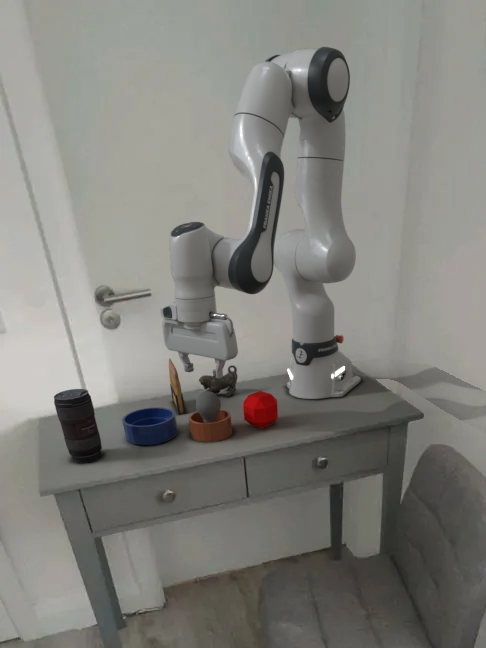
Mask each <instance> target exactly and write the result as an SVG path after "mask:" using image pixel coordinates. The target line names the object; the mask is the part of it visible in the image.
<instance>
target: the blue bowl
mask: <svg viewBox="0 0 486 648" xmlns="http://www.w3.org/2000/svg"><path fill="white" fill-rule="evenodd" d="M121 422H122V426H123V431H124V437H125V439H126V441H127V442H129V443H130V444H134V445H139V446H151V445H152V446H153V445H158V444H162V443H165V442H167V441H170V440H172V439H173V438H175V437H176V436H177V435H178V433H179V430H178V424H177V417H176V413H175V411H174V410H173V409H171V408H167V407H160V406H159V407H158V406H157V407H154V406H153V407H145V408H139V409H136V410H133V411H131V412H128V413H127V414H126V415H124V416H123V417H122V418H121Z"/></svg>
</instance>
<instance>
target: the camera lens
mask: <svg viewBox="0 0 486 648" xmlns="http://www.w3.org/2000/svg"><path fill="white" fill-rule="evenodd" d="M53 399H54V400H53V404H54V407H55V411H56V415H57V418H58V421H59V423H60V427H61V430H62V433H63V439H64V442H65V446H66V448H67V451H68V454H69V455H70V456H71V458H72V459H71V460H72V461H73V462H75V463H77V464H86V463H92V462H95V461H97V460H99V459H100V458H101V457H102V449H103V446H102V439H101V435H100V432H99V428H98V424H97V419H96V413H95V408H94V404H93V401H92V396H91V394H90V393H89V390H88V389H85V388H71V389H67V390H63V391H60V392H57V393H56V394H55V395H54V396H53Z"/></svg>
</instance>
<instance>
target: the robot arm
mask: <svg viewBox="0 0 486 648" xmlns="http://www.w3.org/2000/svg"><path fill="white" fill-rule="evenodd" d="M350 83H351V73H350V68H349V65H348V62H347V60H346V57H345V55H344V54H343V52H342V51H341V50H339V49H337V48H334V47H329V46H322V47H319V48H317V47H315V48H314V47H309V48H308V47H306V48H299V49H296V50H294V51H289V52H286V53H283V54H275V55H272V56H271V57H268V58H267V59H266V60H264V61H261V62H260V61H259V62H258V63H256V64H254V65H253V67H252V68H251V69H250V70H249V72H248V75H247V76H246V79H245V82H244V84H243V87H242V89H241V92H240V94H239V96H238V100H237V103H236V107H235V110H234V115H233V118H232V120H231V121H232V122H231V126H230V129H229V134H228V142H227V145H228V146H227V152H228V155H229V158H230V160H231V163H232V165H233V166H234V168H235V170H237V172H238V173H239V174H240V175H242V177H244V178H246V180H248V181H249V182H250V183H251V186H252V200H251V205H250V213H249V218H248V223H247V224H248V226H247V230H246V233H245V234H244V236H243V237H241V238H232V237H228V236H227V237H225V236H224V235H221V234H218V233H216V232H215V231H212V230H211V229H210V228H208V227H207V226H206V224H205V223H204V222H201V221H190V222H185V223H182V224H179V225H176V227H174V228H173V230H171V231H170V234H169V240H168V252H169V254H168V255H169V264H170V265H169V266H170V272H171V277H172V279H173V282H174V292H173V293H174V294H173V296H174V301H173V302H172V303H170V304H167V305H165V306H162V307H160V316H161V317H162V319H163V320H162V327H161V328H162V334H163V335H162V336H163V341H164V345H165V347H166V348H167V349H168V350H169V351H172V352H177V353H178V358H179V359H180V361H181V363H182V365H183V371H184V372H185V373H192V372H194V370H195V368H194V363H193V362H191V360H190V357H189V356H190V355H192V356H193V355H194V356H199V357H203V358H210V359H214V363H215V364H216V366H215V369H212V374H213V375H212V376H213V377H214V378H218V379H219V378H222V377H223V376H224V370H223V369H224V368H225V365H226V362H228V361H231V360H234V359H236V358H237V356H238V354H239V349H238V342H237V336H236V330H235V328H234V322H233V320H232V319H231V318H230V317H229V316H228V314H227V313H219V312H218V310H217V301H216V291H215V288H216V287H219V288H224V289H229V290H235V291H238V292H241V293H245V294H248V295H256V294H259V293H260V292H263V290H265V288H266V287H267V286H268V284H269V283H270V281H271V279H272V276H273V274H274V273H273V272H274V267H275V269H276V270H277V271H278V272H279V274H280V276H281V278H282V280H283V283H284V285H285V288H286V292H287V295H288V299H289V303H290V308H291V320H292V338H291V344H290V347H291V354H292V355H293V356H291V358H290V362H289V368H287V373H288V376H289V381H288V382H287V383H286V387H287V389H289V390H288V393H289V395H291V396H292V397H295V398H298V399H303V400H320V399H327V398H341V397H345V395H346V394H347V393H348V392H350V391H351V390H352V389H353V388H354V387H356V386H357V385H358V384H359V383H360V382H361V380H362V379H361V377H360V376H359V375H357V374H353V363H352V360H351V359H350V358H349V357H348V356H346V355H345V354H344V353H342V351H340V350H339V345H338V344H343V343H344V339H345V338H344V335H339V334H336V335H335V305H334V302H333V301H332V299H331V298H330V296H329V295H328V293H327V291H326V289H325V285H324V284H333V283H340V282H344V281H345V280H347V279H348V278H349V277H350V276H351V274H352V272H353V271H354V269H355V265H356V259H357V252H356V247H355V244H354V243H353V241H352V240H351V238H350V237H349V235H348V232H347V230H346V226H345V221H344V215H343V208H342V194H343V193H342V192H343V178H344V169H345V168H344V167H345V157H346V134H347V133H346V115H345V111H344V107H345V104H346V101H347V99H348V95H349V91H350ZM289 119H297V121H298V125H299V136H298V142H297V150H296V151H297V153H296V163H295V164H296V166H295V177H294V178H295V179H294V180H295V182H294V194H293V195H294V200H295V203H296V205H297V206H298V207H299V209H300V211H301V214H302V217H303V222H304V229H303V228H294V229H291V230H287V231H284V232H282V233H280V234H279V235H278V236H277V235H276V234H277V229H278V223H279V218H280V217H279V216H280V212H281V206H282V205H281V204H282V199H283V193H284V185H285V167H284V163H283V161H282V150H283V144H284V140H285V136H286V134H287V128H288V124H289ZM276 236H277V237H276Z"/></svg>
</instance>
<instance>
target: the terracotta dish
mask: <svg viewBox="0 0 486 648" xmlns="http://www.w3.org/2000/svg"><path fill="white" fill-rule="evenodd" d="M188 425H189V432H190V436H191V438H192V439H193V440H194V441H197V442H202V443H213V442H218V441H222V440H226V439H227V438H229V437H231V435H232V434H233V422H232V414H231V412H230V411H228V410H226V409H223V408H220V410H219V413H218V415H217V421H216V422H212V423H204V421H203V418H202V416H201V415H200V414H199V412H198V411H197V410H196V411H194V412H192V413H191V414H189V416H188Z"/></svg>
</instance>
